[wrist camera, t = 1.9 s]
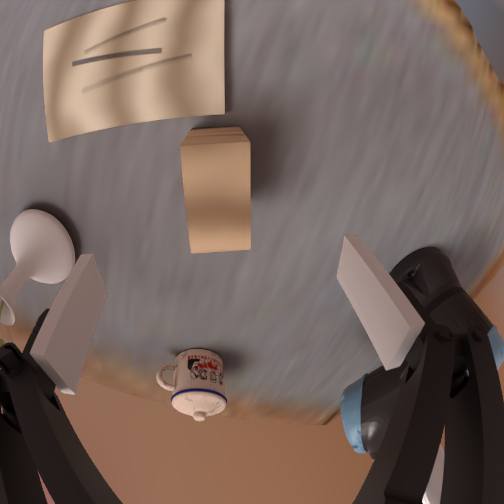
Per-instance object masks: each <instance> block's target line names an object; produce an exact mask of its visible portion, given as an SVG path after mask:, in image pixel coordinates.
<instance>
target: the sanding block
mask: <svg viewBox="0 0 504 504" xmlns="http://www.w3.org/2000/svg"><path fill="white" fill-rule="evenodd" d="M180 151H181V164H182V175H183V186H184V196H185V206H186V215H187V223H188V232H189V240H190V247H191V253H205V252H220V251H235V250H250V249H251V189H250V141H249V139H248V138H247V137H246V135H245V134H244V132H243V131H242V130H241V128H240V127H239V126H232V127H212V128H197V129H191V130H190V132H189V133H188V135H187V136H186V138H185V139H184V141H183V142H182V144H181V146H180Z"/></svg>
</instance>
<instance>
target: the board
mask: <svg viewBox="0 0 504 504" xmlns="http://www.w3.org/2000/svg"><path fill="white" fill-rule="evenodd" d="M43 84H44V101H45V113H46V123H47V131H48V138H49V142H53V141H56V140H60V139H63V138H67V137H71V136H75V135H79V134H83V133H87V132H92V131H96V130H101V129H106V128H111V127H116V126H122V125H127V124H133V123H140V122H146V121H153V120H161V119H169V118H179V117H189V116H202V115H218V114H225V90H224V0H136V1H132V2H127V3H123V4H119V5H115V6H111V7H108V8H104V9H101V10H98V11H95V12H91V13H88V14H85V15H83V16H80V17H77V18H74V19H72V20H69V21H66V22H64V23H61V24H59V25H57V26H54V27H52V28H50V29H47V30H45V31H44V44H43Z"/></svg>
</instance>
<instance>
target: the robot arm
mask: <svg viewBox="0 0 504 504" xmlns="http://www.w3.org/2000/svg"><path fill="white" fill-rule="evenodd" d="M336 278H337V280H338V281H339V283H340V285H341V287H342V288H343V290H344V292H345V294H346V296H347V297H348V299H349V301H350V303H351V305H352V306H353V308H354V310H355V312H356V314H357V316H358V317H359V319H360V321H361V323H362V325H363V327H364V329H365V330H366V332H367V334H368V336H369V338H370V340H371V342H372V344H373V346H374V348H375V350H376V352H377V354H378V356H379V358H380V360H381V362H382V364H383V365H382V366H380V367H379V368H377V369H375V370H374V371H372V372H371V373H369V374H367V373H366V374H364V375H363V377H362V378H360V379H359V380H357V381H356V382H354V383H352V384H351V385H349V386H348V387H347V388H346V389H345V390H344V392H343V394H342V397H341V406H340V407H341V417H342V422H343V426H344V430H345V433H346V436H347V438H348V441H349V443H350V444H351V445H352V446H353V449H354V450H355V451H356V452H358V453H366V452H369V454H370V456H371V458H372V460H373V461H374V462H373V465H372V467H371V469H370V471H369V473H368V475H367V477H366V480H365V481H364V484H363V486H362V487H361V489H360V491H359V493H358V495H357V497H356V499H355V501H354V502H353V503H352V504H504V402H503V396H502V391H501V385H500V381H499V375H498V371H497V370H498V369H499V367H500V366H501V364H502V363H503V361H504V340H503V339H502V337H501V336H500V334H499V333H498V331H497V328H496V326H495V325H493V324H492V323H491V321H490V320H489V319H488V318H487V316H486V315H485V314H484V313H483V311H482V310H481V309H480V308H479V307H478V305H477V304H476V303H475V302H474V301H473V300H472V298H471V297H470V296H469V295H468V294H467V293H466V292H465V291H464V289H463V288H462V287H461V285H460V283H459V281H458V278H457V276H456V274H455V272H454V270H453V268H452V265H451V262H450V260H449V259H448V258H447V257H446V256H445V255H444V254H443V253H442V252H441V251H440V250H439V249H437V248H431V247H429V248H423V249H420V250H418V251H415V252H413V253H412V254H410V255H409V256H407V257H406V258H405V259H403V260H402V261H401V262H400V263H399V264H398V265H397V266H396V267H395V268H394V269H393V270H392V272H391V273H390V274H388V272H387V271H386V270H385V268H384V267H383V266H382V265H381V263H380V262H379V261H378V260H377V258H376V257H375V256H374V255H373V253H372V252H371V251H370V250H369V249H368V247H367V246H366V245H365V244H364V243H363V241H362V240H361V239H360V238H359V237H358V235H347V236H344V241H343V247H342V252H341V257H340V262H339V267H338V272H337V276H336ZM106 297H107V291H106V289H105V286H104V283H103V281H102V278H101V275H100V272H99V270H98V267H97V264H96V261H95V258H94V255H93V253H91V254H81V255H80V257H79V259H78V260H77V262H76V263H75V265H74V267H73V268H72V270H71V272H70V274H69V275H68V277H67V279H66V280H65V282H64V284H63V286H62V288H61V289H60V291H59V293H58V295H57V297H56V299H55V300H54V302H53V304H52V306H51V308H50V309H46V310H45V311H44V312H43V313H42V314H41V315H40V317H39V319H38V321H37V323H36V326H35V327H34V329H33V331H32V333H31V335H30V337H29V339H28V341H27V344H26V346H25V348H24V351H23V353H21V352H20V350H19V349H18V348H17V346H16V345H15V344H14V343H6V344H4V345H2V346H1V347H0V368H1V369H0V504H47V500H46V498H45V494H44V491H43V488H42V485H41V481H40V478H39V474H40V476H41V478H42V480H43V482H44V484H45V486H46V488H47V490H48V491H49V493H50V495H51V497H52V498H53V500H54V502H55V504H123V503H122V502H121V501H120V500H119V498H118V497H117V496H116V495H115V493H114V492H113V491H112V489H111V488H110V487H109V485H108V484H107V482H106V481H105V480H104V478H103V477H102V475H101V474H100V472H99V471H98V469H97V468H96V466H95V465H94V463H93V462H92V460H91V458H90V457H89V455H88V454H87V452H86V450H85V449H84V447H83V445H82V444H81V442H80V440H79V438H78V436H77V435H76V433H75V431H74V429H73V427H72V425H71V424H70V421H69V419H68V418H67V416H66V414H65V411H64V409H63V407H62V405H61V403H60V401H59V399H58V396H57V395H56V394H55V392H54V390H55V386H57V387H58V388H59V390H60V391H61V392H62V393H67V394H74V395H76V392H77V388H78V384H79V381H80V377H81V373H82V370H83V366H84V363H85V359H86V356H87V352H88V349H89V346H90V343H91V340H92V337H93V334H94V331H95V328H96V325H97V322H98V319H99V316H100V313H101V311H102V308H103V305H104V302H105V300H106ZM1 408H2V409H3V414H2V413H1ZM444 425H445V453H444V451H443V449H442V446H441V444H440V442H441V438H442V434H443V429H444ZM38 472H39V474H38Z"/></svg>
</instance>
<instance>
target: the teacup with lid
mask: <svg viewBox="0 0 504 504" xmlns="http://www.w3.org/2000/svg"><path fill="white" fill-rule="evenodd" d="M166 369H170V370H174V381H173V385H170V384H168V383H166V382H165V381H164V380H163V379H162V371H164V370H166ZM156 379H157V382H158V383H159V385H160V386H161V387H163V388H164V389H167V390H170V391H173V396H172V398H171V402H172V405H173V406H174V408H175V409H176V410H178V411H180V412H181V413H184V414H187V415H191V416H193V418H194V419H195V420H197V421H203V420H205V419H206V416H209V415H214V414H217V413H219V412H221V411H223V410H224V409H225V407H226V404H227V399H226V397H225V388H224V376H223V363H222V360H221V358H220V357H219V356H218V355H217V354H215V353H214V352H211V351H209V350H204V349H190V350H186V351H183V352H181V353H180V354H179V355H178V356H177V357H176V359H175V364H164V365H163V366H161V367H160V368H159V370H158V372H157V375H156Z"/></svg>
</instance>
